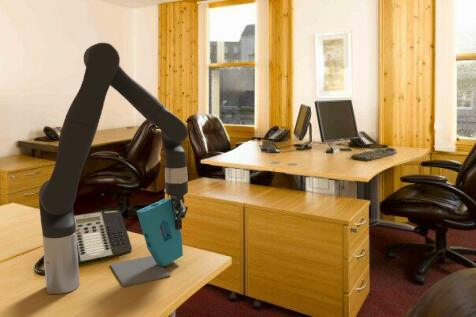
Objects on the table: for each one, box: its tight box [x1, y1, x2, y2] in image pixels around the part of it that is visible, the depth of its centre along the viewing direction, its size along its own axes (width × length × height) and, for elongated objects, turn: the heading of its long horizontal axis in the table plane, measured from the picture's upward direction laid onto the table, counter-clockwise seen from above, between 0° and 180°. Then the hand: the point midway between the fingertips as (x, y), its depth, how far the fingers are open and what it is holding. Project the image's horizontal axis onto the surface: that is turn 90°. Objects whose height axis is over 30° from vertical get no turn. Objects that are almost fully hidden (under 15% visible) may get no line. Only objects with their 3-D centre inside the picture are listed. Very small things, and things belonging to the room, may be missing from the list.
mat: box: [109, 255, 171, 288], centre depth 140 cm, size 15×18×1 cm
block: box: [136, 198, 184, 267], centre depth 143 cm, size 12×5×20 cm, turn 135°
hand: (178, 229), depth 145 cm, fingers closed
